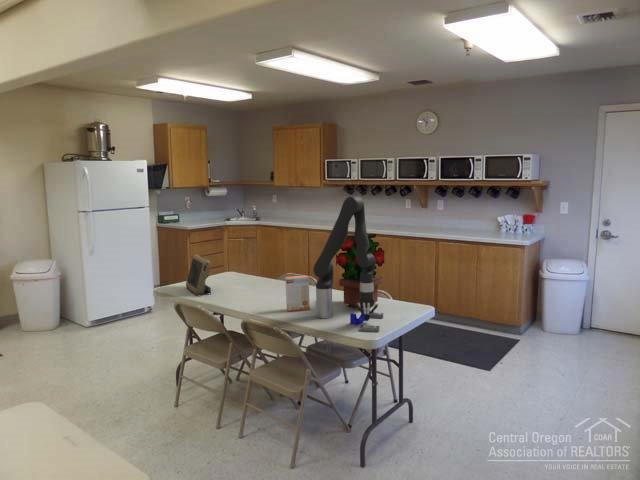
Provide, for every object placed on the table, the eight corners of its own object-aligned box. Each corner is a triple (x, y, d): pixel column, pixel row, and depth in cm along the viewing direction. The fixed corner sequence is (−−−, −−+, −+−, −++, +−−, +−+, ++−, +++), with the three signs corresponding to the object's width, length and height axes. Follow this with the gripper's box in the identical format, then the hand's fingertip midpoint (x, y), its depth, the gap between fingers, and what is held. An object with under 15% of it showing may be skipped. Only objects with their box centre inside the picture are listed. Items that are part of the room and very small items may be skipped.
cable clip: (356, 325, 264) (356, 315, 263) (350, 324, 267) (350, 313, 266) (369, 320, 273) (369, 310, 272) (363, 319, 276) (363, 308, 275)
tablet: (182, 288, 360) (180, 255, 356) (200, 285, 367) (198, 253, 364) (196, 297, 333) (194, 261, 329) (215, 294, 340) (214, 259, 337)
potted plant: (368, 312, 288) (368, 238, 282) (336, 307, 300) (335, 236, 294) (384, 303, 306) (384, 233, 300) (353, 299, 318) (353, 231, 312)
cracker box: (308, 307, 301) (307, 274, 298) (310, 310, 295) (309, 276, 292) (286, 309, 299) (285, 276, 296) (287, 311, 293) (286, 278, 290)
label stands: (359, 331, 255) (359, 326, 254) (366, 315, 282) (366, 311, 281) (378, 332, 252) (378, 327, 252) (383, 316, 280) (383, 312, 279)
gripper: (353, 291, 263) (354, 322, 265) (378, 292, 260) (378, 323, 262) (355, 288, 270) (356, 318, 272) (379, 288, 267) (379, 319, 269)
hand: (367, 320), depth 267 cm, fingers closed
